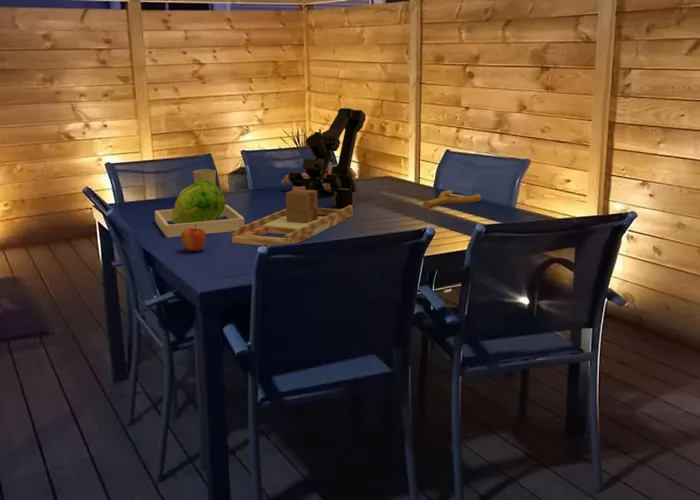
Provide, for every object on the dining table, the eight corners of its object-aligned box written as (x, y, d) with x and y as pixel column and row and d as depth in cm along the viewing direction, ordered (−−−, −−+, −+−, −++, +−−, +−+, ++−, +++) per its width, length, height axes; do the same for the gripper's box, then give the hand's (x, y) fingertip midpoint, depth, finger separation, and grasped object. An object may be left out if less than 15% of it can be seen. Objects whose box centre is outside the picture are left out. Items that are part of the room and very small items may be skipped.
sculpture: (282, 205, 332) (337, 194, 350) (314, 194, 311) (372, 184, 329) (275, 178, 332) (331, 169, 350) (307, 165, 311) (365, 156, 328)
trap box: (304, 211, 291) (303, 201, 290) (352, 215, 283) (352, 205, 282) (232, 242, 246) (231, 230, 245) (287, 248, 238) (287, 235, 237)
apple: (177, 252, 234) (175, 227, 232) (190, 247, 241) (188, 222, 239) (198, 254, 232) (196, 228, 230) (211, 248, 239) (209, 223, 236)
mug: (223, 200, 315) (221, 171, 312) (200, 203, 309) (198, 173, 306) (211, 196, 324) (210, 167, 321) (189, 199, 318) (187, 170, 315)
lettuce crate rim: (227, 215, 286) (227, 204, 285) (245, 230, 263) (244, 218, 262) (155, 221, 277) (154, 210, 276) (166, 237, 253) (165, 225, 252)
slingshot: (408, 198, 301) (447, 189, 319) (408, 206, 302) (446, 196, 320) (444, 203, 290) (482, 194, 307) (444, 211, 290) (482, 202, 308)
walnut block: (297, 216, 273) (296, 188, 270) (317, 218, 270) (317, 190, 267) (286, 221, 266) (285, 192, 263) (307, 223, 263) (306, 194, 260)
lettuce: (184, 217, 282) (157, 189, 270) (231, 191, 279) (205, 161, 267) (189, 249, 270) (160, 221, 258) (238, 222, 267) (211, 192, 255)
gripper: (289, 149, 274) (275, 184, 267) (337, 151, 267) (324, 187, 260) (300, 168, 283) (286, 203, 276) (346, 170, 276) (334, 206, 269)
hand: (307, 199), depth 270 cm, fingers closed, pressing on walnut block
